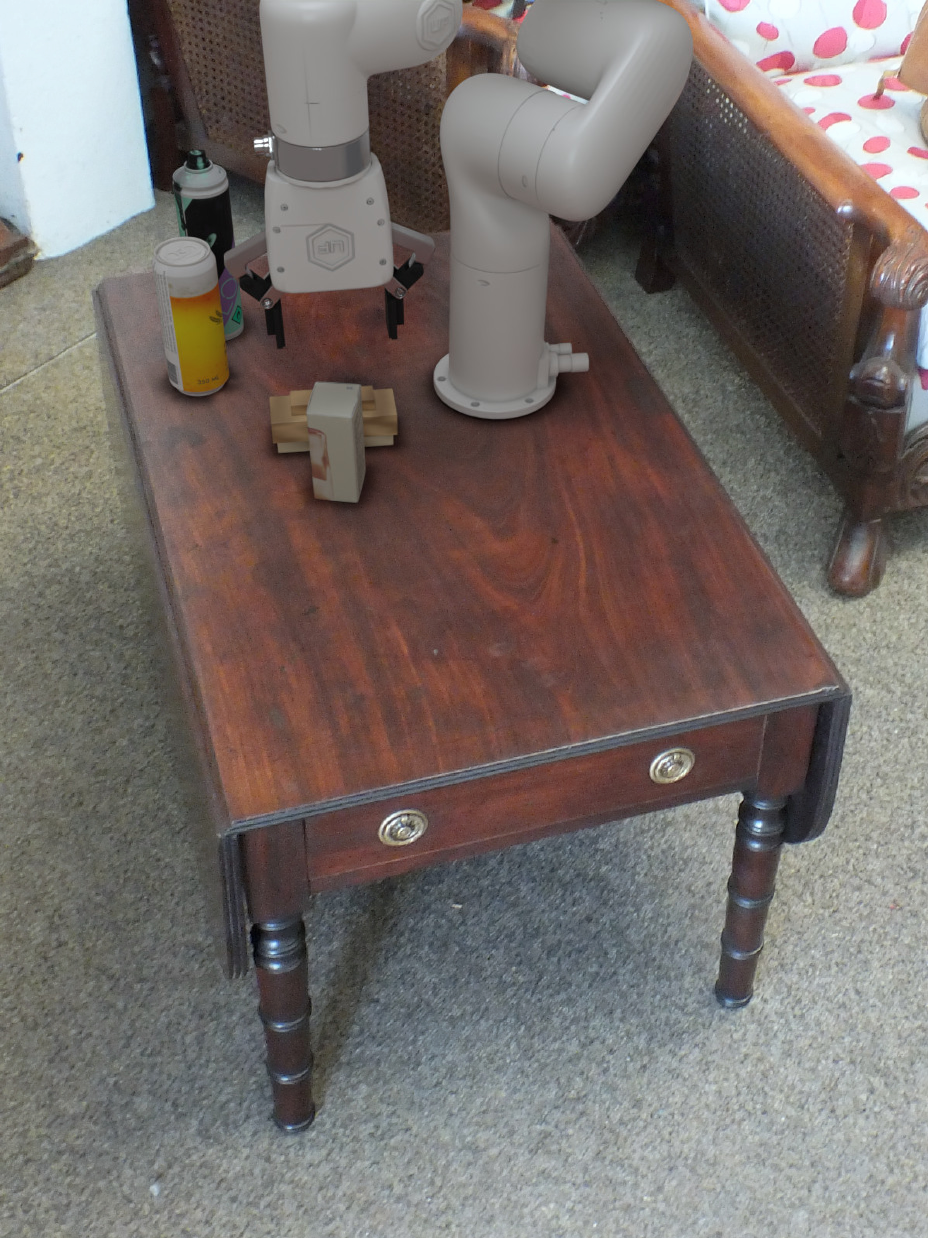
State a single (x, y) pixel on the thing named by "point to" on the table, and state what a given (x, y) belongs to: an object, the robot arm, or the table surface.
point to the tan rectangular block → (294, 428)
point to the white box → (336, 441)
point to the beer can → (190, 315)
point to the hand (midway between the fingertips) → (336, 335)
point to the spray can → (210, 225)
